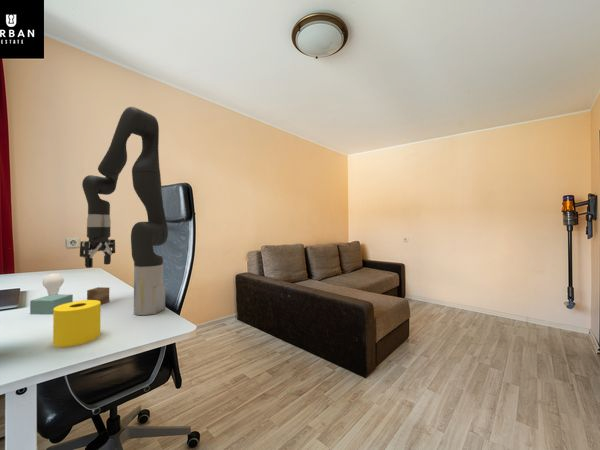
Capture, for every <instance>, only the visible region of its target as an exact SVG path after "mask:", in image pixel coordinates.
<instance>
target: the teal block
mask: <svg viewBox="0 0 600 450" xmlns="http://www.w3.org/2000/svg"><path fill="white" fill-rule="evenodd" d="M73 297H74V294H59V293H58V294H52V295H49V294H48V295H46V296H41V297H39V298H34V299H31V300H29V311H30V312H29V314H30V315H53V309H54V308H55V307H57V306H59V305H62V304H66V303H70V302H74V301H73V300H74V299H73Z"/></svg>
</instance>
